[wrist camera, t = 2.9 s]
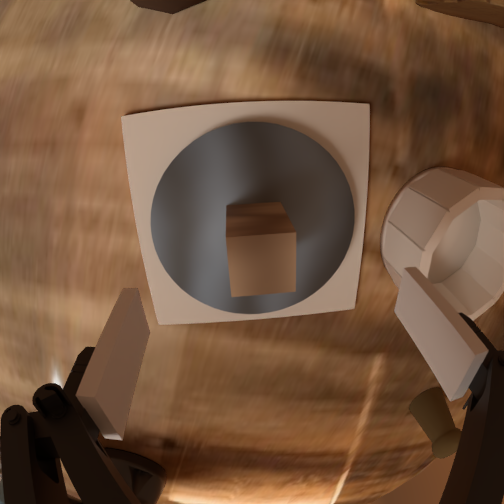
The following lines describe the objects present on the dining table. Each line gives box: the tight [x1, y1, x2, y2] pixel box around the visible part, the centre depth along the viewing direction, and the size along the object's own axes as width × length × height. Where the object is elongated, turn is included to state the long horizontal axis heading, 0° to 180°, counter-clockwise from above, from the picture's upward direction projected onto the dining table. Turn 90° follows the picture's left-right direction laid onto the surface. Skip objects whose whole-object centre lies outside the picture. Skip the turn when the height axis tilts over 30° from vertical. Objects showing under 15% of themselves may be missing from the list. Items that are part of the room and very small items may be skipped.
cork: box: [409, 387, 462, 458], centre depth 36 cm, size 6×6×11 cm
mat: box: [121, 101, 370, 325], centre depth 26 cm, size 19×19×1 cm
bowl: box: [380, 167, 504, 321], centre depth 24 cm, size 13×13×7 cm
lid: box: [150, 122, 355, 314], centre depth 22 cm, size 16×16×7 cm
